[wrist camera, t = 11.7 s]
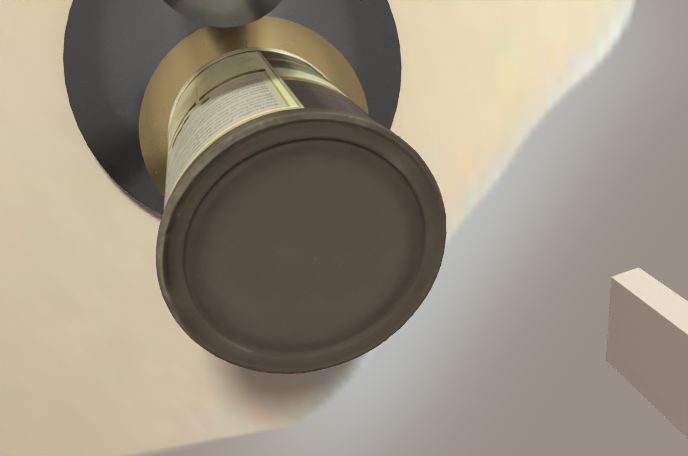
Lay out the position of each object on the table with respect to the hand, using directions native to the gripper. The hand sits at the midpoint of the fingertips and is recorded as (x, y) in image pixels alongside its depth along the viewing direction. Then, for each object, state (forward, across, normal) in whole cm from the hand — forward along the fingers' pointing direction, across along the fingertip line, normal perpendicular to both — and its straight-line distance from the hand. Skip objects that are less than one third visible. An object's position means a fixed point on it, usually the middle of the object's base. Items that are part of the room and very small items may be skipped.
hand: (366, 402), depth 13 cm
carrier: (+22, 0, +3) cm, 23 cm away
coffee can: (+21, 0, 0) cm, 21 cm away
